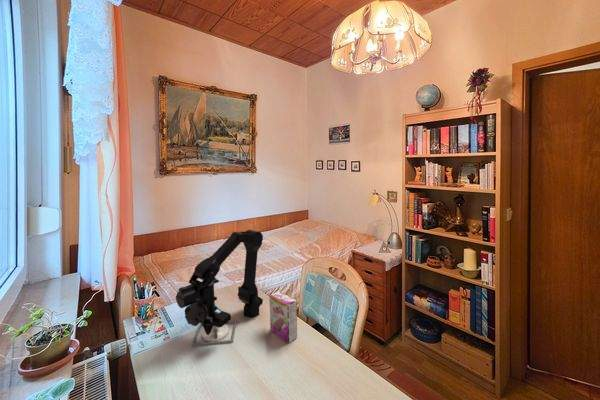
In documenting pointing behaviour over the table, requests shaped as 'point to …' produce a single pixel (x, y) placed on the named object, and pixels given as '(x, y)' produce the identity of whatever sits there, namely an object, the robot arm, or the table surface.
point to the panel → (215, 341)
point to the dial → (216, 334)
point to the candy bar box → (283, 316)
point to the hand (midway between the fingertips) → (208, 334)
